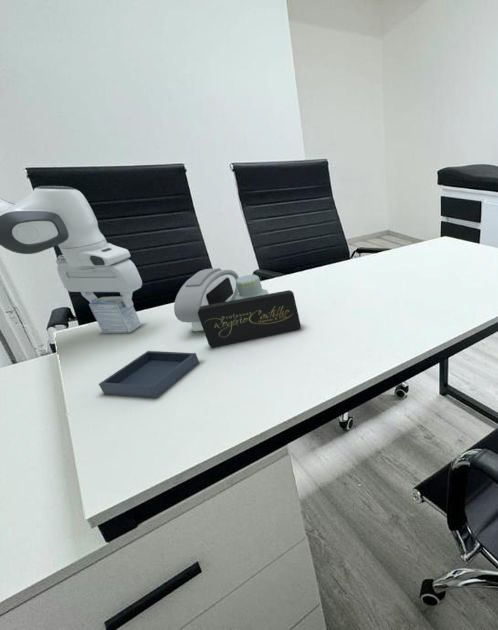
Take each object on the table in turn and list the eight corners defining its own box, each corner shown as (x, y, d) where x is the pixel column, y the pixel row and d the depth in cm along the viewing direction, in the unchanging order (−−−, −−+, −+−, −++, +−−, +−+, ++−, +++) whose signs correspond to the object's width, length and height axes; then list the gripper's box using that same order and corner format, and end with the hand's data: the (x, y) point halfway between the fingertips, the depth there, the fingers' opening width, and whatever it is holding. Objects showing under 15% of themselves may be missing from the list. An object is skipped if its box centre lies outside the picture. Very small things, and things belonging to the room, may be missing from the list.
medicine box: (142, 325, 104) (129, 295, 100) (129, 333, 100) (116, 303, 96) (115, 325, 105) (102, 296, 101) (102, 333, 101) (87, 303, 97)
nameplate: (209, 348, 90) (196, 310, 86) (210, 344, 92) (197, 306, 87) (301, 329, 96) (293, 292, 92) (300, 325, 98) (292, 289, 93)
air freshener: (275, 315, 104) (266, 281, 100) (242, 323, 101) (232, 288, 96) (268, 301, 113) (260, 269, 108) (238, 308, 109) (228, 275, 105)
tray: (103, 394, 76) (98, 384, 75) (152, 360, 87) (147, 350, 86) (156, 398, 74) (151, 387, 73) (199, 362, 85) (195, 353, 84)
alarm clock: (208, 336, 96) (191, 289, 90) (184, 337, 96) (165, 290, 90) (245, 298, 116) (233, 257, 110) (225, 299, 116) (212, 258, 111)
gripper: (40, 259, 92) (68, 311, 98) (112, 258, 88) (136, 312, 95) (66, 251, 98) (91, 300, 104) (134, 250, 94) (156, 301, 100)
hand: (113, 306), depth 99 cm, fingers open, 8 cm apart
